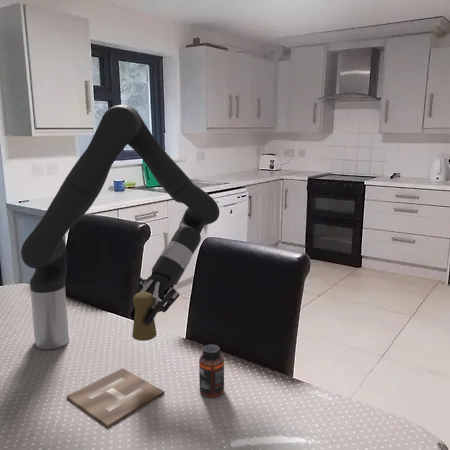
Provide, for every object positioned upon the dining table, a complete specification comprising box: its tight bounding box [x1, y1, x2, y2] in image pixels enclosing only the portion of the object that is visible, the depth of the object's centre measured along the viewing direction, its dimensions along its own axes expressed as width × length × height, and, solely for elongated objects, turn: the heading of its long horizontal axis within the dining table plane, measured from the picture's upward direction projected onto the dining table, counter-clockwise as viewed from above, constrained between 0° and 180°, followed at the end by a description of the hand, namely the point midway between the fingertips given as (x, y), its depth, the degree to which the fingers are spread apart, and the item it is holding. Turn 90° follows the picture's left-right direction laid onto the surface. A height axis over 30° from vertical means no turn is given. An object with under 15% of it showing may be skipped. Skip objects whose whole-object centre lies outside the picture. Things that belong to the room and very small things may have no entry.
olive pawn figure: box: [132, 292, 157, 342], centre depth 108 cm, size 6×6×11 cm
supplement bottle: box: [198, 344, 225, 398], centre depth 103 cm, size 6×6×11 cm
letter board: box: [66, 368, 165, 428], centre depth 102 cm, size 16×16×1 cm
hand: (138, 320), depth 107 cm, fingers closed on olive pawn figure, 4 cm apart
